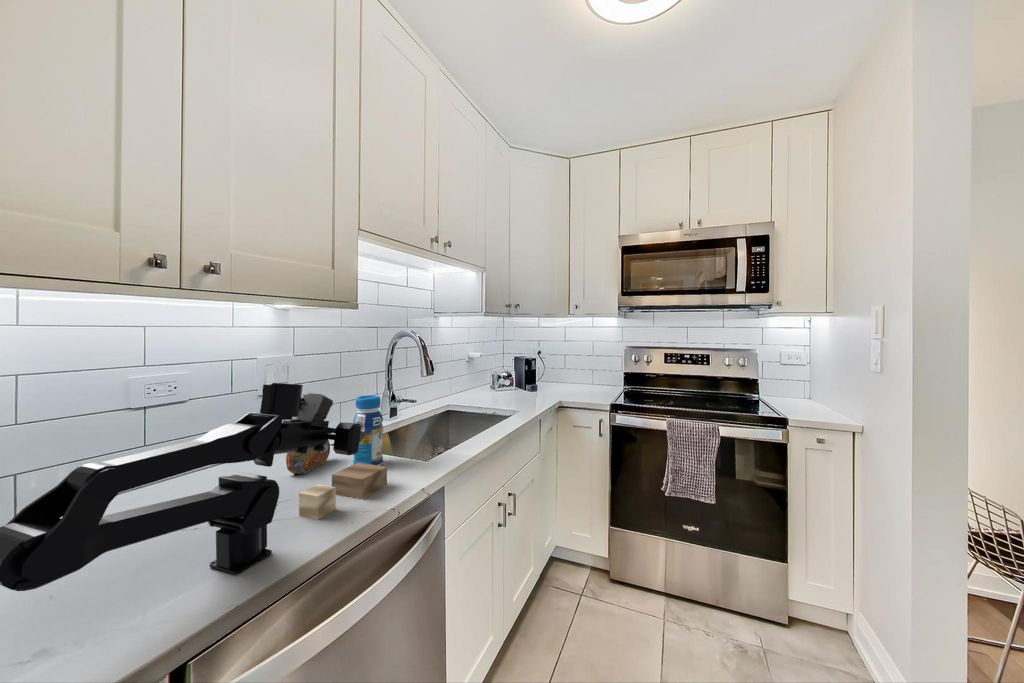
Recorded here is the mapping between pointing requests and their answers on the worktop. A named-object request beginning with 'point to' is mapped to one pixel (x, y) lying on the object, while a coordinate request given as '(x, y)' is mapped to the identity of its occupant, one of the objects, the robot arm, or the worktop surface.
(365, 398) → the beverage bottle
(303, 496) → the maple cube
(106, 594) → the worktop surface
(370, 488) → the walnut block
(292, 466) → the tin
